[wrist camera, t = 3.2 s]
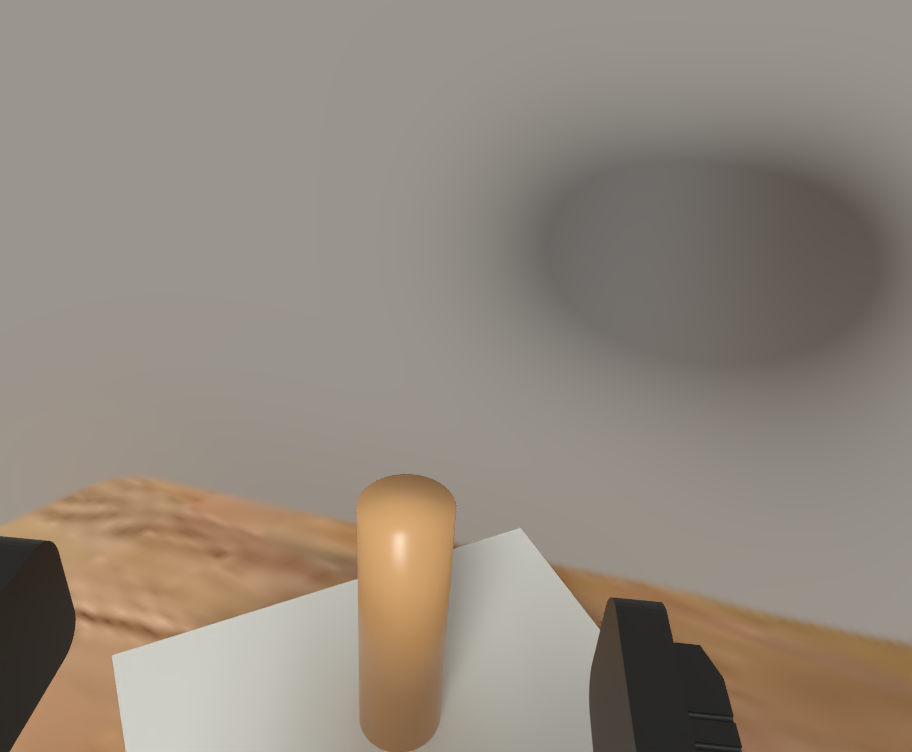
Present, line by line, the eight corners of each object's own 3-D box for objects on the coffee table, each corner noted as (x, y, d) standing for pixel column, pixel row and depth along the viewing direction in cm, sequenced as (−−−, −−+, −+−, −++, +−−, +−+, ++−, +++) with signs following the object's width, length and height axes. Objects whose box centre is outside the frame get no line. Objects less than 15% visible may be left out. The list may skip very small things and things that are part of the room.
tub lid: (514, 566, 42) (545, 344, 35) (700, 820, 31) (803, 573, 24) (123, 697, 34) (55, 445, 27) (184, 1103, 23) (97, 864, 16)
